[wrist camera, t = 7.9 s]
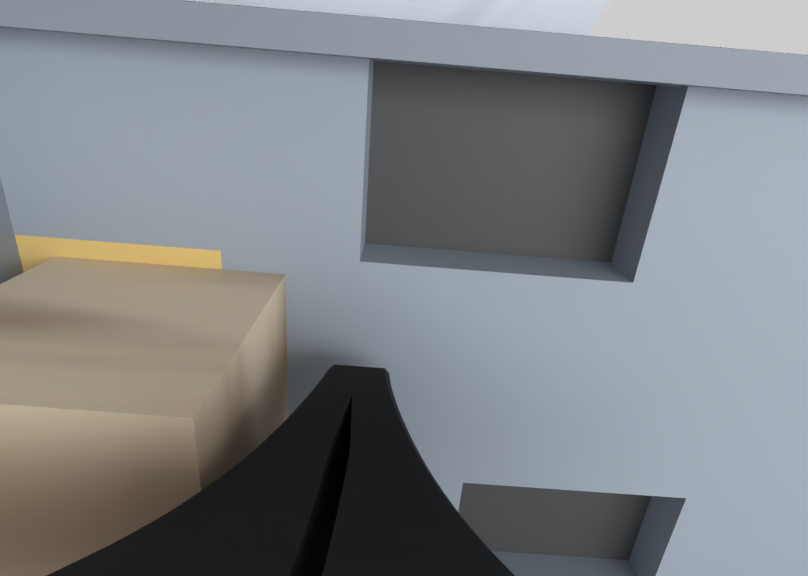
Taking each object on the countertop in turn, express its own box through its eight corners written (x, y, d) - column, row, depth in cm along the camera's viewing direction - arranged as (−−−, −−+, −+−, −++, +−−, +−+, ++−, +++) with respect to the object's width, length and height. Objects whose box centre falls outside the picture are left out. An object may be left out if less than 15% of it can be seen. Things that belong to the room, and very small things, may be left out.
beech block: (288, 453, 13) (219, 663, 8) (93, 439, 13) (-86, 643, 8) (285, 274, 11) (192, 418, 6) (55, 256, 11) (-209, 389, 6)
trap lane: (829, 581, 17) (929, 702, 13) (103, 532, 16) (27, 646, 13) (1120, 94, 11) (1428, 102, 7) (-13, -4, 10) (-208, -41, 7)
